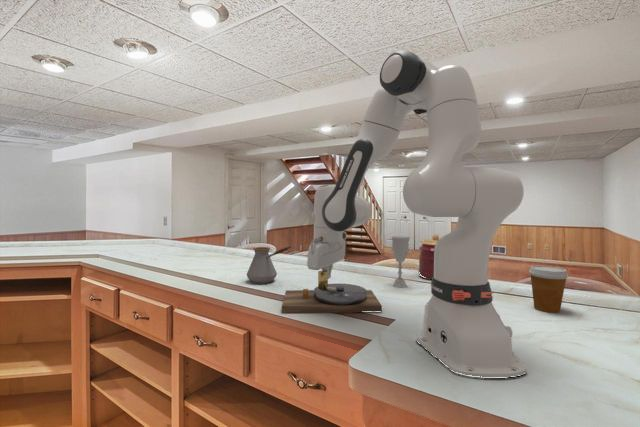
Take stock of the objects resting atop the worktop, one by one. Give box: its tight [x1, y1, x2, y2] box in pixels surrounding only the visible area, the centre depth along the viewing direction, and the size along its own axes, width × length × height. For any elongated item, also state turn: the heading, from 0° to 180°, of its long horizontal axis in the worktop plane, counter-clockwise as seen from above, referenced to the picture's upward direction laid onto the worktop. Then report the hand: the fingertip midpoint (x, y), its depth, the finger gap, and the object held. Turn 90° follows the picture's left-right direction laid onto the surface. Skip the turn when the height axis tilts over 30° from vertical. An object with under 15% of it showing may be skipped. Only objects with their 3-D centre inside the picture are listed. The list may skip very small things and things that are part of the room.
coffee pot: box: [246, 245, 294, 285], centre depth 126 cm, size 21×12×15 cm, turn 51°
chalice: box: [390, 235, 411, 288], centre depth 123 cm, size 7×7×18 cm
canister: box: [418, 234, 440, 280], centre depth 137 cm, size 13×13×18 cm
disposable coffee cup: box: [528, 265, 569, 314], centre depth 98 cm, size 10×10×12 cm
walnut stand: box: [281, 288, 383, 314], centre depth 102 cm, size 16×28×4 cm, turn 92°
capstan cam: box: [313, 270, 368, 305], centre depth 102 cm, size 16×16×7 cm
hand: (326, 278), depth 107 cm, fingers closed
